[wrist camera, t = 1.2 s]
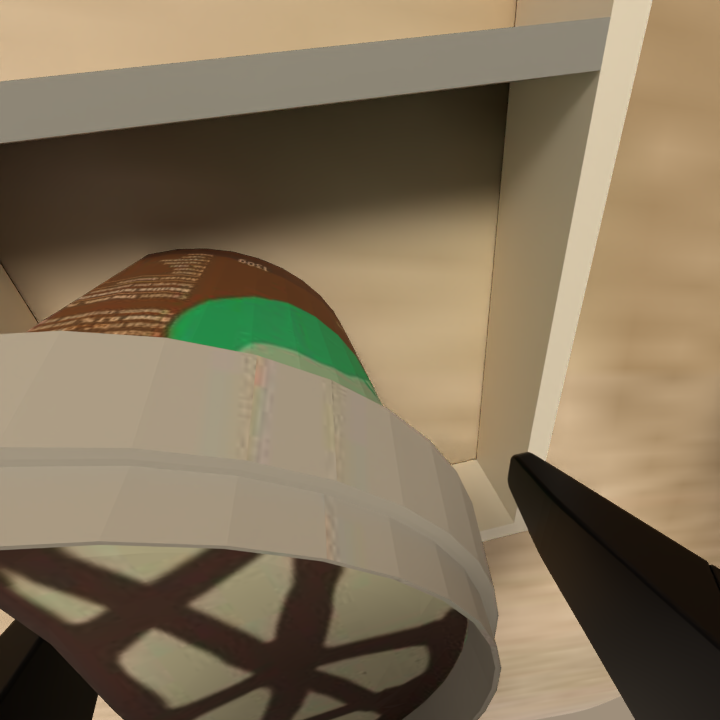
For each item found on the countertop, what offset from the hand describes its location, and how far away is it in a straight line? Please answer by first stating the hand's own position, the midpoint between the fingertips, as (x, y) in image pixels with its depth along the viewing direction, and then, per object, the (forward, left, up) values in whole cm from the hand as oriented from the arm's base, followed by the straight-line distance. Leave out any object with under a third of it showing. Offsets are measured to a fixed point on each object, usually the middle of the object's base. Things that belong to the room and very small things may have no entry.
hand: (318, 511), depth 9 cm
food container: (0, 0, -7) cm, 7 cm away
